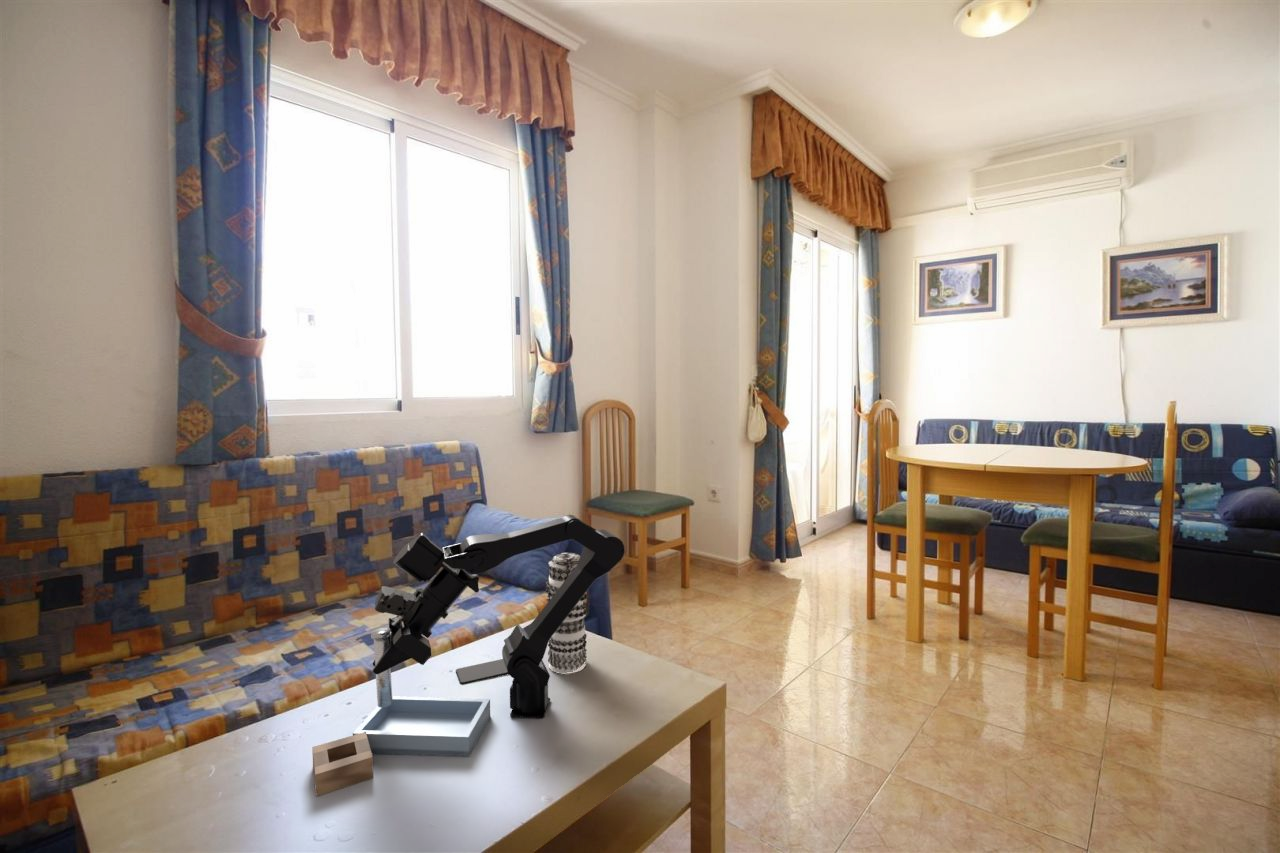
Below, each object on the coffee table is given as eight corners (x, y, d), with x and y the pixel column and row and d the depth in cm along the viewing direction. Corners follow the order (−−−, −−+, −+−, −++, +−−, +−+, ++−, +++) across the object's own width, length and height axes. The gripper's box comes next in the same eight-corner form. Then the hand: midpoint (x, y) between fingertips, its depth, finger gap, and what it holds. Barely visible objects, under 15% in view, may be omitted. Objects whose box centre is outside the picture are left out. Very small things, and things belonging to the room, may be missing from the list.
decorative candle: (544, 658, 135) (543, 551, 133) (584, 653, 137) (584, 548, 135) (548, 677, 126) (547, 563, 124) (591, 672, 128) (590, 560, 126)
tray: (490, 716, 111) (490, 698, 111) (468, 756, 99) (468, 736, 99) (387, 713, 112) (386, 696, 112) (353, 753, 100) (352, 733, 100)
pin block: (366, 751, 101) (365, 731, 100) (373, 777, 94) (372, 756, 94) (313, 767, 96) (312, 747, 96) (316, 796, 90) (315, 774, 89)
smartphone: (455, 668, 129) (522, 654, 136) (455, 672, 129) (522, 658, 136) (460, 683, 123) (530, 667, 129) (460, 687, 123) (530, 671, 129)
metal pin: (398, 699, 104) (394, 628, 103) (388, 709, 101) (383, 636, 100) (382, 698, 105) (378, 627, 104) (371, 708, 102) (366, 635, 101)
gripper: (399, 556, 111) (337, 624, 108) (406, 587, 94) (333, 668, 91) (445, 589, 115) (387, 656, 111) (459, 625, 98) (391, 704, 95)
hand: (374, 669), depth 102 cm, fingers closed on metal pin, 2 cm apart
